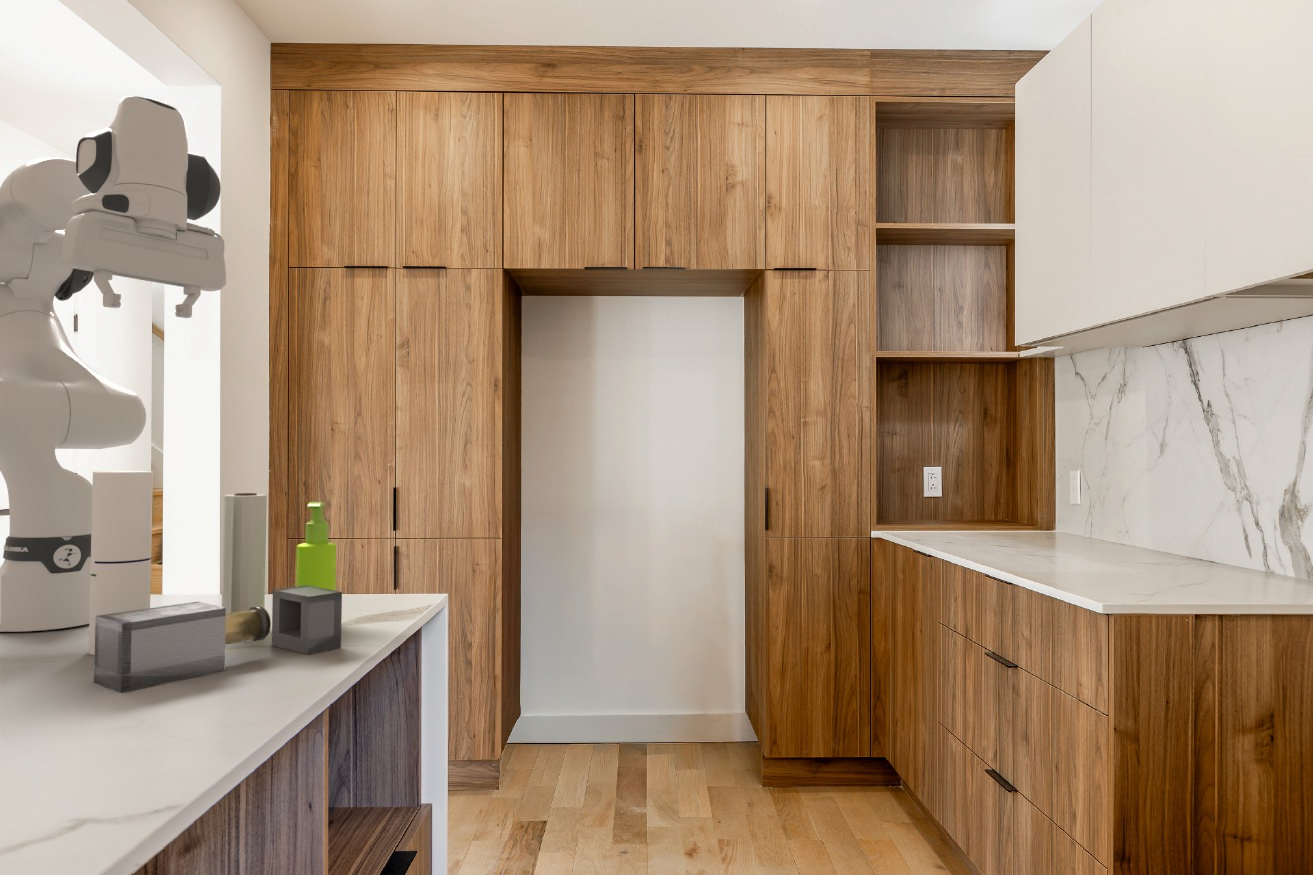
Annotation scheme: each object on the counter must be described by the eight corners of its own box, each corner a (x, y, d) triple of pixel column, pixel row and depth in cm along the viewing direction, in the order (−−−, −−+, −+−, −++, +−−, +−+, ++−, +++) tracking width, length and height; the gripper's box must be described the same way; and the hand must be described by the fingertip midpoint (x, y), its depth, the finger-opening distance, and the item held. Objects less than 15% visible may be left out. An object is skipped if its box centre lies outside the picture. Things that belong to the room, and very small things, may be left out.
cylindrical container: (119, 657, 110) (123, 472, 111) (75, 653, 112) (79, 471, 112) (161, 645, 117) (165, 471, 118) (119, 642, 119) (123, 470, 119)
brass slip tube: (143, 666, 98) (144, 628, 98) (126, 660, 100) (127, 623, 100) (271, 641, 111) (272, 607, 111) (253, 637, 113) (253, 604, 114)
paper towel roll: (247, 625, 131) (250, 492, 132) (272, 629, 128) (275, 493, 129) (205, 633, 125) (208, 494, 125) (230, 638, 122) (233, 495, 122)
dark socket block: (307, 654, 113) (308, 596, 113) (271, 645, 118) (272, 589, 118) (340, 647, 117) (341, 591, 117) (304, 638, 122) (305, 585, 122)
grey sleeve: (120, 692, 94) (122, 623, 95) (93, 682, 98) (95, 615, 99) (224, 670, 104) (225, 607, 104) (196, 661, 108) (197, 601, 109)
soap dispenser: (290, 632, 127) (293, 503, 127) (299, 622, 133) (301, 500, 134) (330, 630, 128) (333, 503, 128) (337, 621, 135) (339, 500, 135)
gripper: (212, 234, 125) (211, 324, 125) (57, 198, 108) (55, 303, 107) (235, 228, 121) (234, 321, 121) (79, 190, 104) (77, 298, 104)
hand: (148, 312), depth 114 cm, fingers open, 8 cm apart
